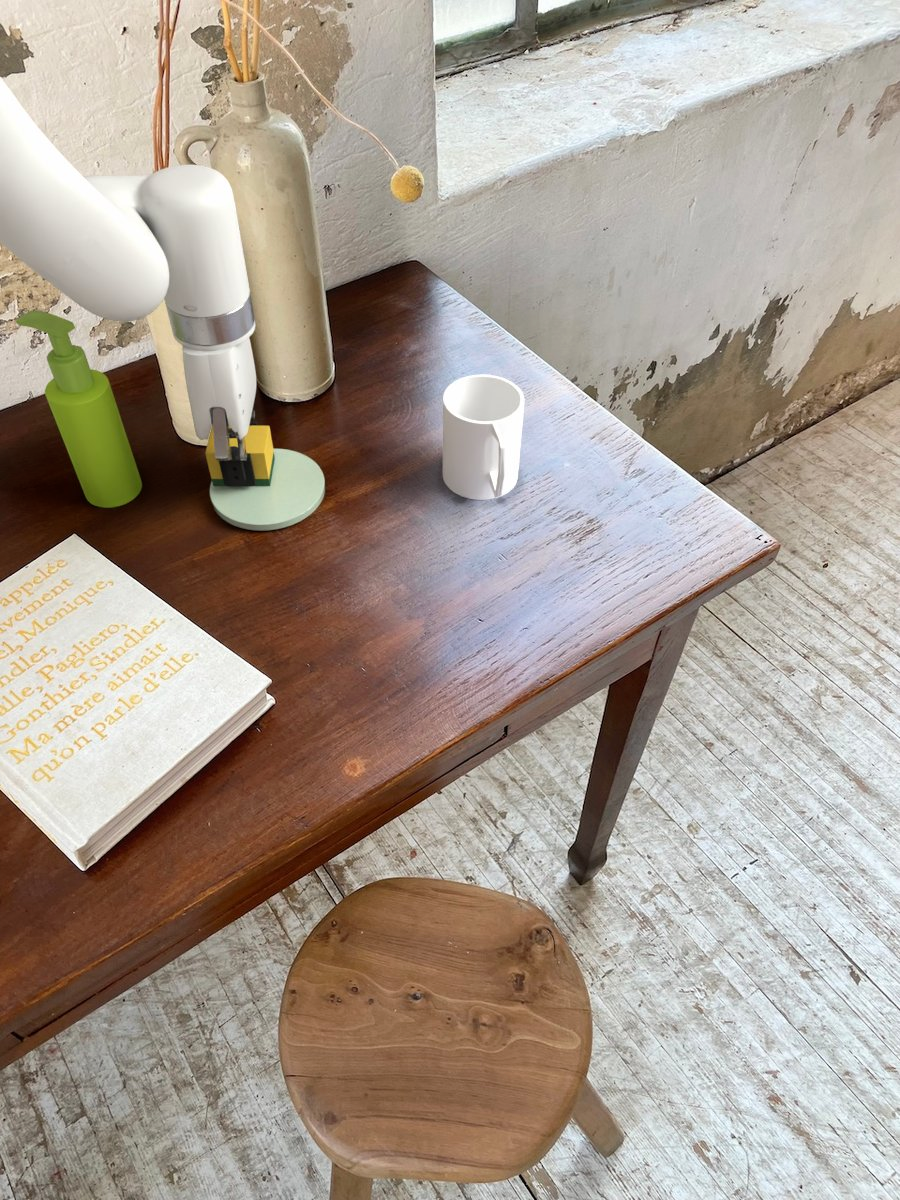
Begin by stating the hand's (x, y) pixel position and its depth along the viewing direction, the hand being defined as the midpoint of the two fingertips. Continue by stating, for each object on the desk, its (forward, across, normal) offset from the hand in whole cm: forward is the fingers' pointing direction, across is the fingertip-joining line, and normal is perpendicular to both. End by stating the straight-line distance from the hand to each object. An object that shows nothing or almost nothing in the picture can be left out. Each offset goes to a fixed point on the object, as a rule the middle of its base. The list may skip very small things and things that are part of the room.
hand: (243, 466), depth 96 cm
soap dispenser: (+2, +1, -14) cm, 15 cm away
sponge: (+1, 0, 0) cm, 1 cm away
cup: (+2, +1, +26) cm, 26 cm away
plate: (+2, +2, +3) cm, 4 cm away
